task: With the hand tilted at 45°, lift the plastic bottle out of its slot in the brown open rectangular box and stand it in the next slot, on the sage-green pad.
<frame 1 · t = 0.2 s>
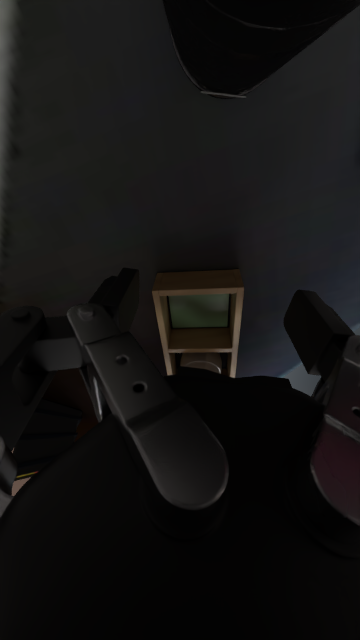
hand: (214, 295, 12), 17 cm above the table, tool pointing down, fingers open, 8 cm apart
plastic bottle: (200, 350, 40), resting in brown open rectangular box
brown open rectangular box: (199, 329, 37), on the table
magazine: (64, 407, 55), on the table
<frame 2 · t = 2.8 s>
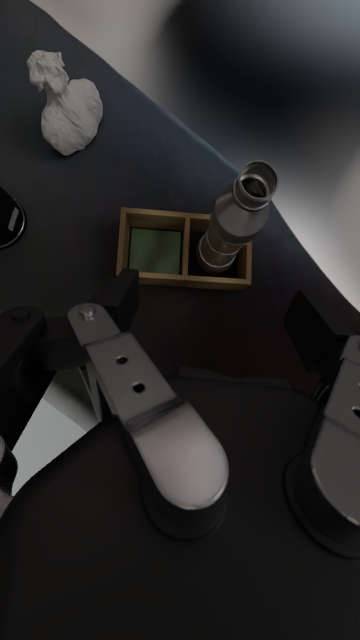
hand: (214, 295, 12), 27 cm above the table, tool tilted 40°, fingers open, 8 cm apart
bust: (77, 133, 41), on the table
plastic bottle: (211, 258, 40), resting in brown open rectangular box
brown open rectangular box: (183, 256, 40), on the table
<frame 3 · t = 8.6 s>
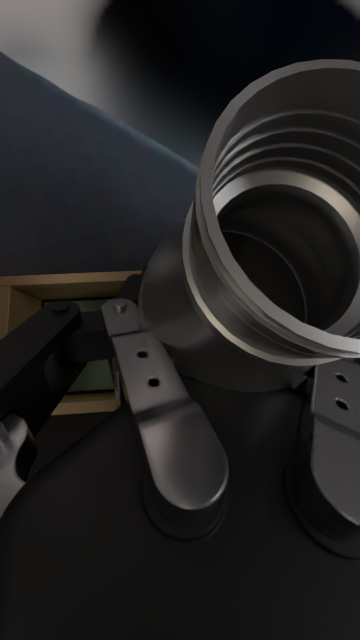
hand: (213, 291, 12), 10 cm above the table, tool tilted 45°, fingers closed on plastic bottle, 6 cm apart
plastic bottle: (192, 338, 23), resting in brown open rectangular box, touching gripper
brown open rectangular box: (141, 341, 22), on the table
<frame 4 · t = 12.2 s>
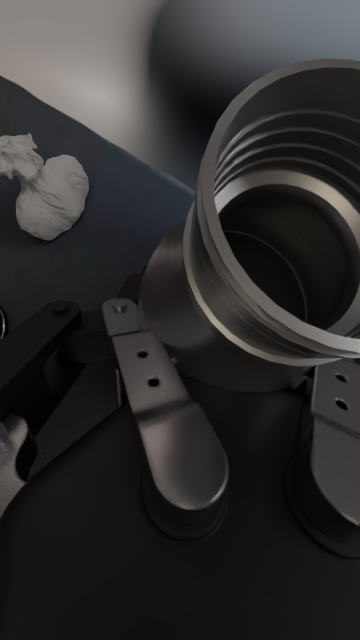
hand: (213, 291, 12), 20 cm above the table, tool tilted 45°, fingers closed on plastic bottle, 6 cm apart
bust: (61, 211, 35), on the table
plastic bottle: (191, 338, 23), point 10 cm above the table, touching gripper
when the fingers open (11 cm above the table, at t = 15.7 s): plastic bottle stays where it is, resting on brown open rectangular box.
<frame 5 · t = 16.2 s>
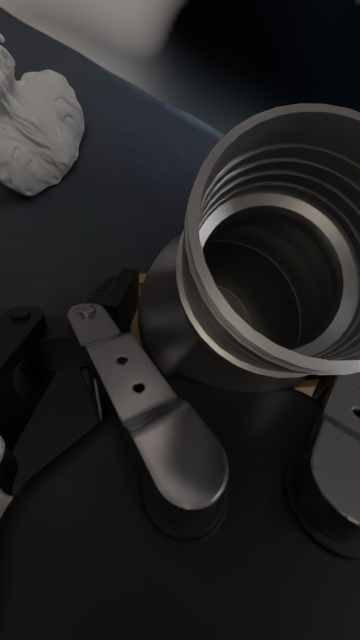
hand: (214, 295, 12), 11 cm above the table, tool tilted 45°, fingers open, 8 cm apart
bust: (48, 160, 26), on the table
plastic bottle: (192, 341, 23), resting on brown open rectangular box
brown open rectangular box: (242, 336, 23), on the table
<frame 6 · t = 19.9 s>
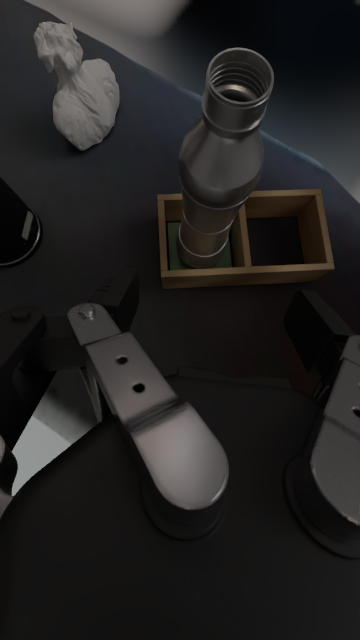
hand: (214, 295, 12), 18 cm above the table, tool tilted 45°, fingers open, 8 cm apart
bust: (92, 127, 35), on the table
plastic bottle: (199, 251, 32), resting on brown open rectangular box
brown open rectangular box: (234, 248, 32), on the table
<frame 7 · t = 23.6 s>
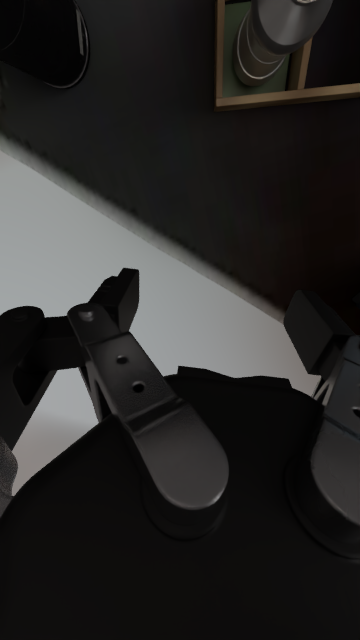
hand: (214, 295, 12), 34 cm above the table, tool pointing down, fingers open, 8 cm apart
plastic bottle: (255, 55, 30), resting on brown open rectangular box
brown open rectangular box: (295, 48, 29), on the table
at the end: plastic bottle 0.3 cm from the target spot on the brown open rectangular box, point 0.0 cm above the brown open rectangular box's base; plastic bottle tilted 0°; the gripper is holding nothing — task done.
